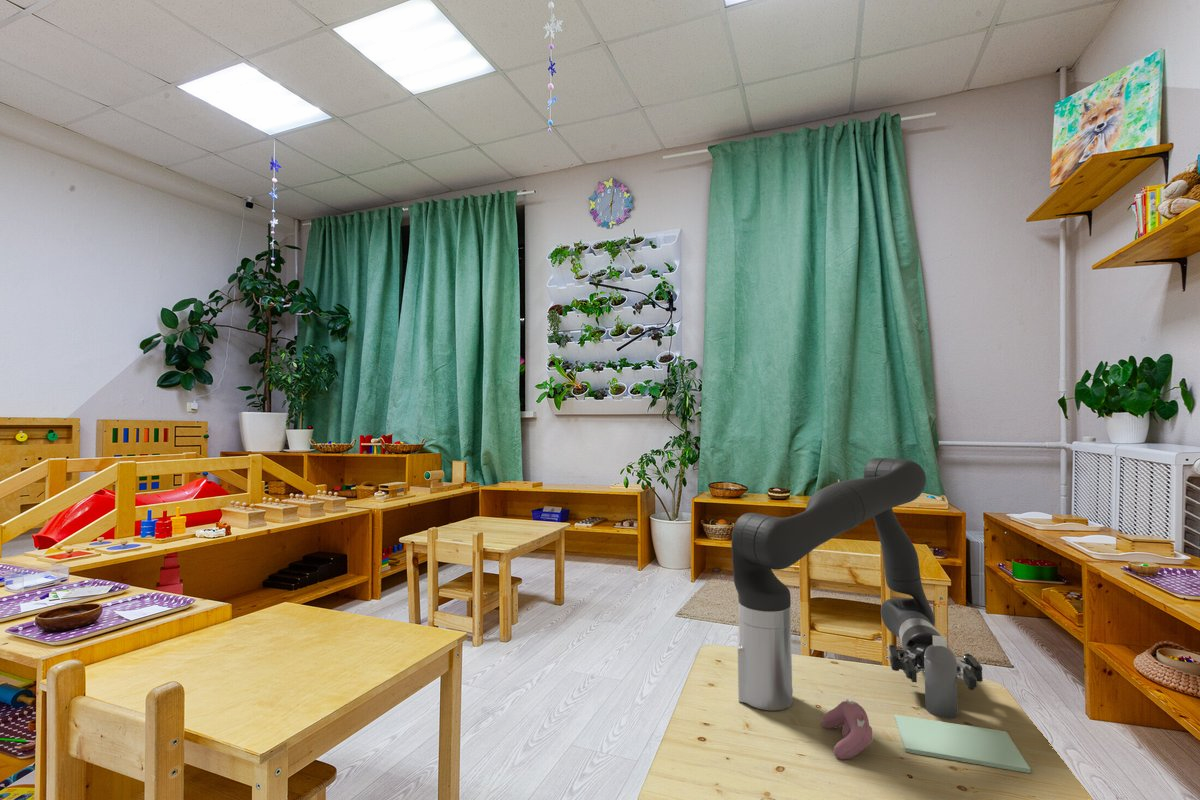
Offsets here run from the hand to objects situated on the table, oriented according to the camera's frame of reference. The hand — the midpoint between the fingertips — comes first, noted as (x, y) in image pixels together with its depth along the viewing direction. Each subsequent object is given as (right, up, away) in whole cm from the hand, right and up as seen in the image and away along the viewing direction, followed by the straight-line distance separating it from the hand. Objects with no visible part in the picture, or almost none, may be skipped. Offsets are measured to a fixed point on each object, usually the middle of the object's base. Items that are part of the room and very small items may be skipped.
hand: (942, 680), depth 95 cm
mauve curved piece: (-20, -6, -8) cm, 22 cm away
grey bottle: (+1, -6, +1) cm, 6 cm away
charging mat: (-3, -6, -8) cm, 10 cm away
